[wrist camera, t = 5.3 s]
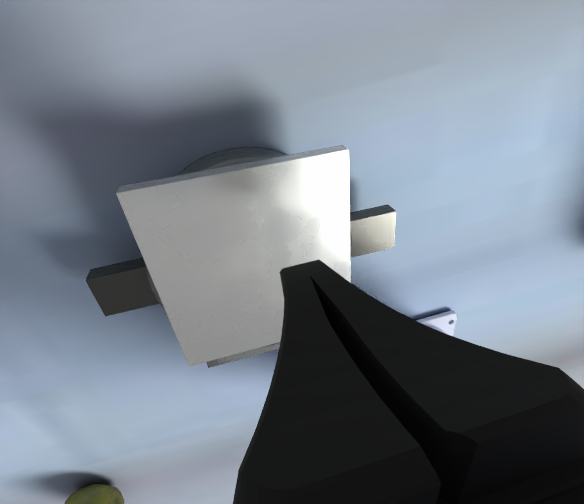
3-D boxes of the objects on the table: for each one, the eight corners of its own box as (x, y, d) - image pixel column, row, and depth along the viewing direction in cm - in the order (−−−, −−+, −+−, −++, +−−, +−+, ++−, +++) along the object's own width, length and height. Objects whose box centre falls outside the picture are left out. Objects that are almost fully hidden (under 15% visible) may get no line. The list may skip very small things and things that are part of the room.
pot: (371, 290, 26) (391, 317, 23) (146, 348, 23) (140, 385, 21) (375, 122, 19) (404, 134, 16) (62, 178, 17) (38, 202, 14)
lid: (346, 323, 22) (356, 340, 21) (192, 364, 21) (192, 386, 19) (342, 145, 16) (356, 154, 14) (119, 186, 14) (112, 200, 13)
